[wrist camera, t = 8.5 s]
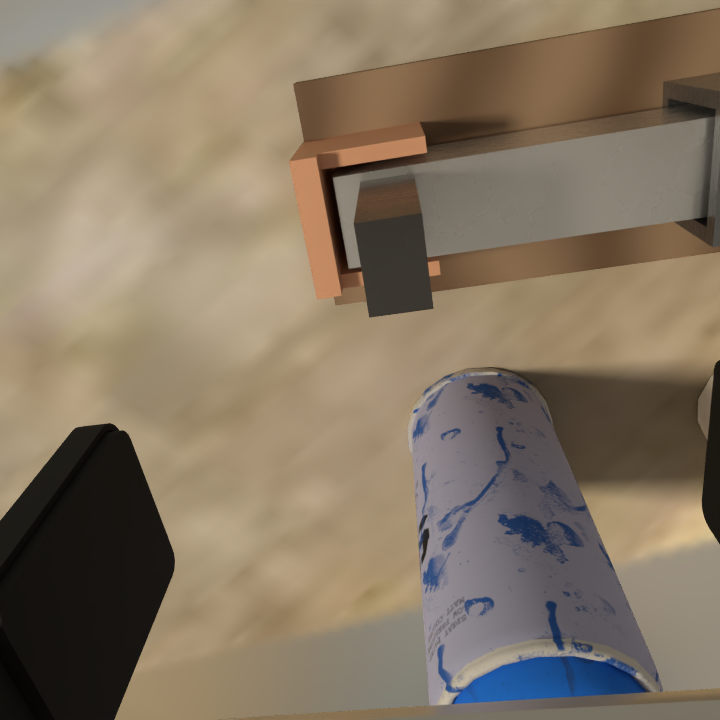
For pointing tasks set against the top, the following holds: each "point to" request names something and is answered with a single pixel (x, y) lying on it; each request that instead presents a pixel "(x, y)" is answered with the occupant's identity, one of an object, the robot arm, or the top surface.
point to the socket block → (320, 203)
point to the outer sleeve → (713, 94)
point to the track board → (527, 123)
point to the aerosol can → (512, 554)
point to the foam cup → (705, 407)
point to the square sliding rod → (519, 194)
